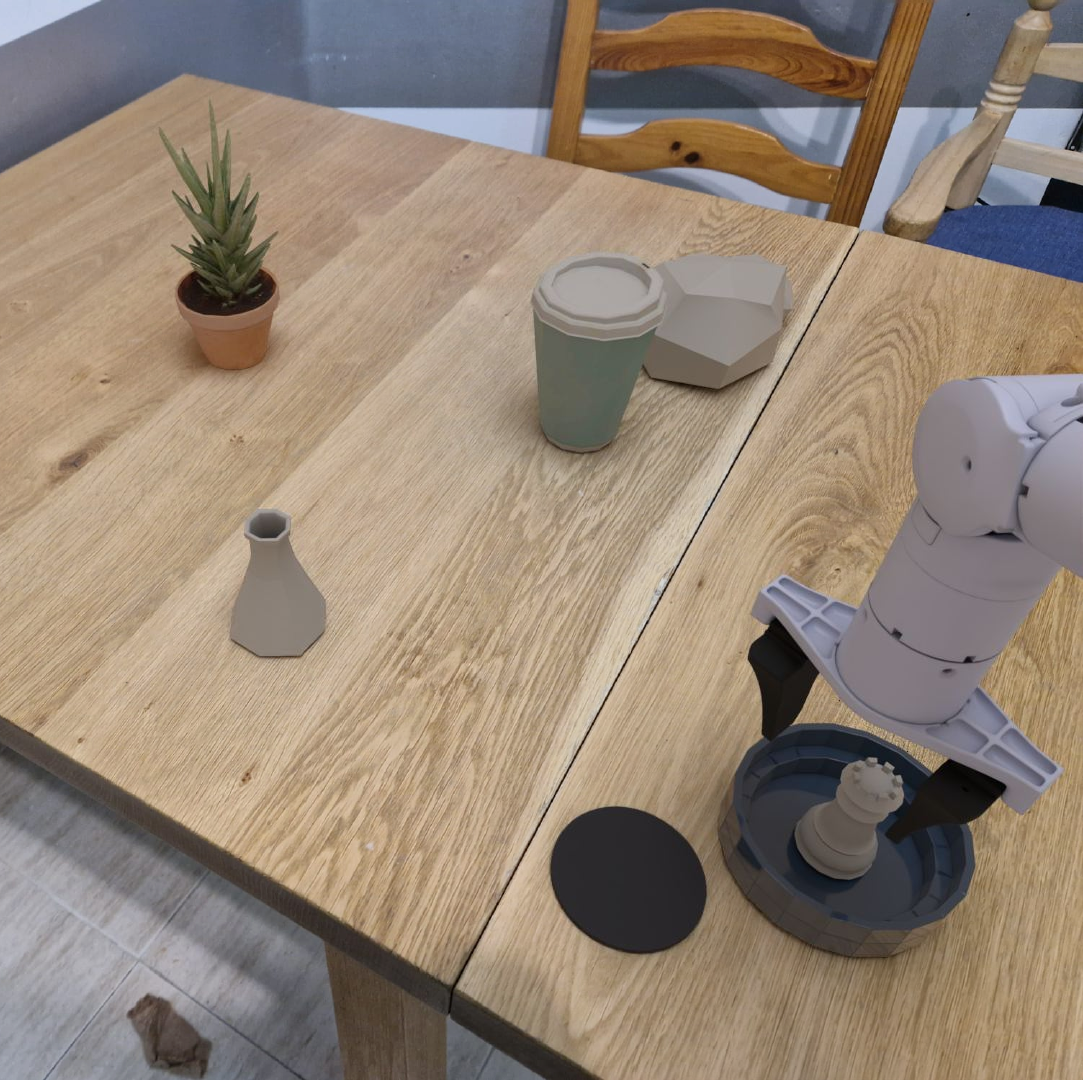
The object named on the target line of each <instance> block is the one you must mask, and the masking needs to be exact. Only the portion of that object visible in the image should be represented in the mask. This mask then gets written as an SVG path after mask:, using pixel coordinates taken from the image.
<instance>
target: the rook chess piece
mask: <svg viewBox="0 0 1083 1080" xmlns="http://www.w3.org/2000/svg"><path fill="white" fill-rule="evenodd" d="M894 768H895V767H893V766H892V765H890V764H889V763H888V762H886V763H885V765H884V766H882V765H879V764H877V758H870V757H868V758H867V759H866V761H861V760H859V761H857V762H853V763H850V764H848V765H847V766H846V767H845V768H844V769H843V770H842V774H841V779H840V780H841V784H840V785H839V786H838V787H837V792H836V798H835V799H834V800H833V801H831V802H828V803H823V804H819V805H816V806H814V807H812V808H810V809H809V810H808V811H807V812H806V813H805V814H804V815H803V818H802V819H801V820H800V821H799V822H798V823H797V826H796V830H795V834H794V835H795V839H796V844H797V848H798V850H799V851H800V853H801V854H802V856H803V857H804V859H805V860H806V861H807V862H808V863H809V864H810V865H811V866H813V867H814V868H815V869H816V870H818V871H819V872H821V873H823V874H826V875H828V876H830V877H833V878H837V879H848V880H851V879H854V878H857V877H860V876H863V875H864V874H865V873H866V872H867V871H868V869H869V868H870V867H871V865H872V862H873V861H874V860H875V858H876V852H877V847H878V841H877V838H876V832H875V829H876V826H877V823H878V822H881V821H883V820H884V819H885V818H886V817H887V816H888V813H889V812H893V811H896V810H897V809H898V808H899V807H900V806H901V805H902V803H903V797H904V793H903V789H902V784H903V781H902V778H901V775H898V776H894V774H893V773H892V771H893V770H894Z"/></svg>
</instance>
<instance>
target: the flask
mask: <svg viewBox="0 0 1083 1080" xmlns="http://www.w3.org/2000/svg"><path fill="white" fill-rule="evenodd" d="M291 525H292V516H291V515H289V514H287V513H285V512H284V511H282V510H279V509H278V508H257V509H256V510H255V511H253V512H252V513H251V514H250V515H249V516H248V517H247V518H245V519H244V528H243V529H244V530H243V536H244V538H245V539H246V540H248V542H249V549H250V555H249V556H250V557H249V561H248V564H247V568H246V570H245V573H244V576H243V580H242V583H241V584H240V588H239V590H238V591H237V595H236V597H235V600H234V602H233V606H232V611H231V612H232V613H231V622H230V628H229V638H230V639H231V640H233V641H234V642H235V643H238V644H239V645H241V646H242V647H244V648H246V649H247V650H249V651H251V652H252V653H254V654H255V655H257V656H259V657H287V656H289V657H290V656H291V657H293V656H294V657H295V656H296V657H298V656H301V655H302V654H303V653H304V652H305V651H306V650H308V648H309V647H310V646H311V645H312V644H313V643H314V642H315V641H316V640H317V639H318V638H319V637H320V636H321V635H322V634H323V633H324V632H325V631H326V607H327V606H326V602H327V601H326V598H325V596H324V595H323V594H322V593H321V591H320V590H319V589H318V587H317V585H315V583H314V581H313V580H312V579H311V577H309V575H308V573H307V571H306V570H305V569H304V567H303V566H302V564H301V563H300V561H299V560H298V559H299V558H297V557H296V554H295V552H294V548H293V547H292V544H291V541H290V537H289V536H290V535H291V529H292V526H291Z"/></svg>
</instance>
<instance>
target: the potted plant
mask: <svg viewBox="0 0 1083 1080" xmlns="http://www.w3.org/2000/svg"><path fill="white" fill-rule="evenodd" d="M208 113H209V128H210V142H211V145H210V146H211V164H212V177H211V172H210V166H209V163H208V161H207V160H205V163H206V179H207V187H208V191H207V189H206V188H205V186H204V184H203V182H202V180H201V178H200V176H199V174H198V172H197V171H196V168H195V167H194V166H193V164H192V162H191V160H190V158H189V156H188V154H187V153H186V151H185V148H184V147H182V146H181V147H180V150H181V154H182V158H181V156H180V154H179V153H178V152H177V151H176V149H175V148H174V146H173V145H172V143H171V142H170V141H169V139H168V138H167V136H166V134H165V133H164V131H163V129H162V128H161V127H160V126H159V125H158V124H157V125H156V126H157V130H158V134H159V137H160V139H161V141H162V143H163V145H164V147H165V150H166V152H167V153H168V155H169V157H170V158H171V160H172V163H173V165H174V166H175V168H176V170H177V172H178V173H179V175H180V176H181V178H182V180H183V182H184V183H185V184H186V186H187V187H188V189H189V191H190V192H191V194H192V195H193V197H194V198H195V200H196V202H197V203H198V206H199V208H200V210H201V212H199V213H197V211H195V209H194V207H193V205H192V202H191V201H190V199H189V198H188V196H187V195H186V194H185V195H184V198H185V201H186V202H185V201H184V200H183V199H182V198H181V197H180V196H179V195H178V194H177V192H175V191H174V190H173V189H171V194H172V196H173V198H174V200H175V201H176V203H177V205H178V206H179V207H180V209H181V211H182V212H183V214H184V216H186V218H187V219H188V221H189V222H190V224H191V225H192V226H193V228H194V230H195V231H196V233H198V235H199V237H200V238H201V240H202V242H203V243H202V242H201V241H200V240H199V239H198V238H197V237H196V236H195V235H194V234H190V236H191V238H192V240H193V241H194V243H195V245H194V244H190V243H189V244H188V248H189V249H190V250H191V252H188V251H186V250H184V249H182V248H181V247H179V246H177V245H175V244H173V243H171V244H170V247H172V248H173V249H174V250H175V251H176V252H177V253H178V254H180V255H181V256H183V257H184V258H185V259H187V260H189V264H190V266H191V268H193V269H192V270H190V271H188V272H187V273H185V274H184V275H183V276H181V278H179V280H178V282H177V283H176V285H175V288H174V289H175V290H174V298H175V301H176V306H177V309H178V312H179V315H180V316H181V317H182V318H183V320H184V321H186V322H188V325H189V327H190V329H191V330H192V332H193V334H194V336H195V338H196V341H197V342H198V345H199V346H200V348H201V350H202V352H203V353H204V356H205V358H206V360H207V361H208V362H209V363H210V364H211V365H212V366H214V367H217V368H220V369H224V370H245V369H248V368H251V367H254V366H255V365H258V364H259V363H260V362H261V361H263V359H264V357H265V356H266V351H267V346H268V342H269V337H270V331H271V327H272V323H273V319H274V314H275V313H274V312H275V311H276V310H277V308H278V305H279V302H280V298H281V296H280V285H279V281H278V279H277V276H276V275H275V273H273V271H271V269H269V268H267V267H265V266H263V265H264V264H263V263H264V260H263V259H264V257H265V256H266V254H267V252H268V250H269V249H270V248H271V245H272V244H271V243H270V242H272V241H273V239H274V238H276V237H277V235H278V234H279V230H276V231H275V232H274V233H272V234H271V235H270V236H269V237H267V238H266V239H265V240H263V241H262V242H261V243H260V244H258V245H257V246H255V248H253V249H252V250H250V251H249V252H248V253H247V251H248V250H249V248H250V246H251V244H252V241H253V236H252V235H251V233H252V232H253V230H254V227H255V225H256V223H257V220H258V215H257V214H256V213H255V211H256V209H257V208H256V207H257V204H258V203H259V198H260V191H257V192H256V193H255V194H254V196H253V197H252V199H251V200H250V201H249V203H248V204H247V200H248V195H249V191H250V186H251V181H252V180H251V179H252V177H251V176H252V174H251V171H249V172H248V173H247V174H246V176H245V179H244V182H243V183H242V186H241V188H240V189H239V192H238V193H237V194H236V196H235V198H234V199H231V182H232V181H231V180H232V144H231V143H232V142H231V141H232V139H231V132H230V128H227V129H226V133H225V138H224V145H223V151H222V158H220V149H219V137H218V129H217V124H216V118H215V114H214V107H213V104H212V100H211V98H209V99H208ZM182 159H183V160H182ZM246 205H247V206H246ZM250 235H251V236H250ZM190 261H191V262H190Z"/></svg>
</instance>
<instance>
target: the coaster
mask: <svg viewBox="0 0 1083 1080" xmlns="http://www.w3.org/2000/svg"><path fill="white" fill-rule="evenodd" d="M550 879H551V885H552V889H553V891H554V895H555V896H556V900H557V901H558V903H559V906H560V907H561V909H562V910H563V911H564V913H565V914H566V917H568V918H569V920H570V921H571V922H572V923H573V924H574V925H575V926H576V927H577V928H578V929H579V930H580V931H581V932H582V933H584V934H585V935H586V936H588V937H589V938H591V939H592V940H593V941H595V942H598V943H599V944H601V945H603V946H605V947H607V948H611V949H613V950H616V951H619V952H625V953H630V954H652V953H658V952H662V951H666V950H668V949H670V948H672V947H675V946H677V945H678V944H679V943H681V942H683V941H684V940H685V939H687V937H688V936H690V934H691V933H692V932H693V931H694V930H695V928H696V927H697V925H698V924H699V922H700V920H701V918H702V916H703V914H704V910H705V906H706V903H707V880H706V876H705V871H704V868H703V866H702V863H701V861H700V858H699V856H698V854H697V853H696V851H695V849H694V848H693V846H692V845H691V844H690V843H689V841H688V839H686V838H685V837H684V836H683V835H682V833H680V831H678V830H677V829H676V828H675V827H674V826H673V825H671V824H669V823H668V822H667V821H665V820H663V819H662V818H660V817H658V816H656V815H654V814H652V813H649V812H648V811H644V810H642V809H638V808H633V807H629V806H618V805H617V806H616V805H615V806H603V807H597V808H594V809H591V810H588V811H586V812H584V813H581V814H580V815H578V816H576V817H575V818H574V819H572V820H571V821H570V822H569V823H568V824H566V826H565V827H564V828H563V829H562V830H561V832H560V834H559V836H558V837H557V839H556V841H555V843H554V846H553V849H552V853H551V857H550Z"/></svg>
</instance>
